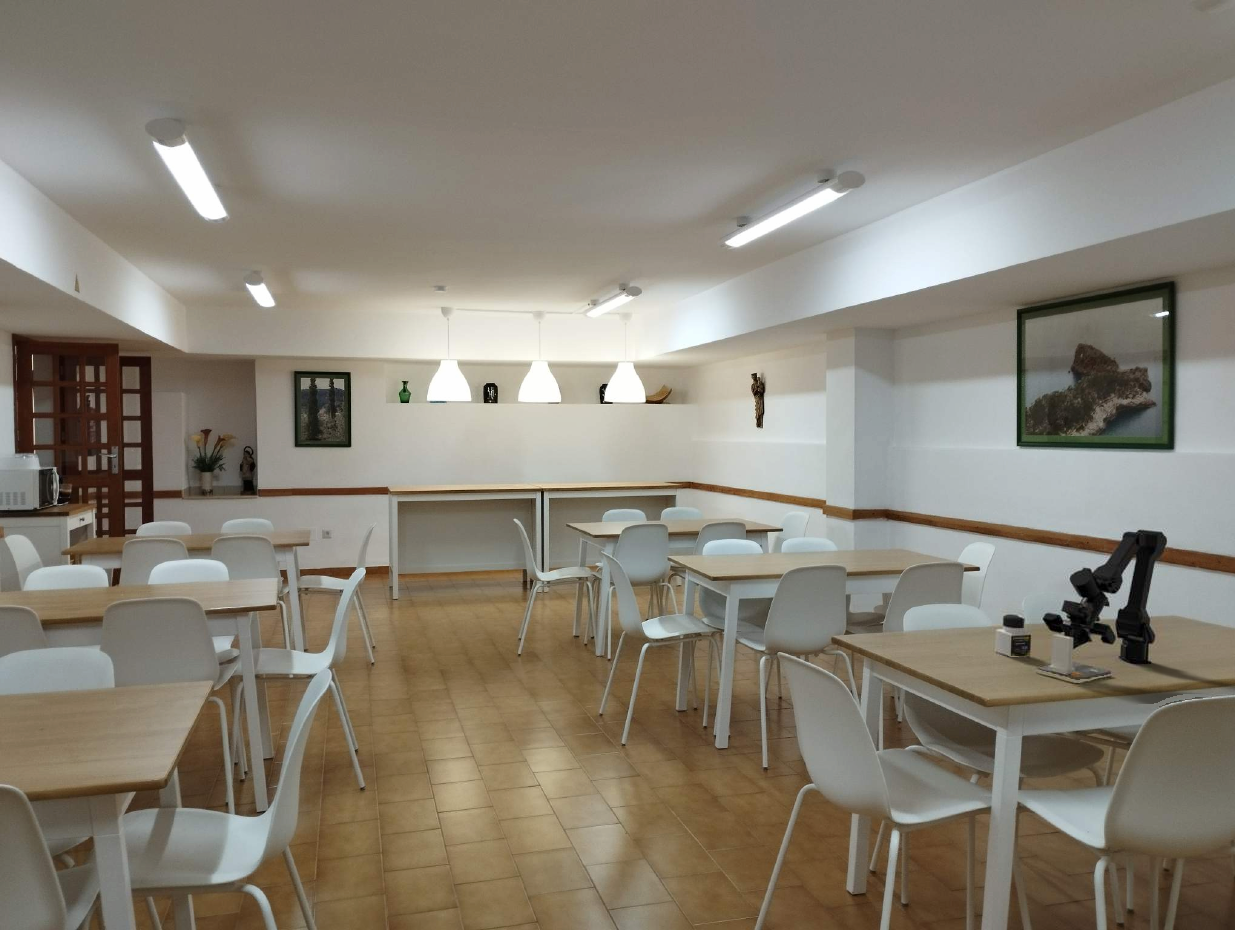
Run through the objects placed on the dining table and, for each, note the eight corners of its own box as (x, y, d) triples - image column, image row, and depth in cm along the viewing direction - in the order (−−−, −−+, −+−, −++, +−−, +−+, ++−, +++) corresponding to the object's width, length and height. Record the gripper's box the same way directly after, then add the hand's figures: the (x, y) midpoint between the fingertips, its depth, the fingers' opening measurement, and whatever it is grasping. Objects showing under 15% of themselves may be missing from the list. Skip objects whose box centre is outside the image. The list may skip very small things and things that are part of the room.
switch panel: (1069, 665, 259) (1070, 658, 259) (1110, 676, 249) (1111, 668, 249) (1036, 673, 251) (1036, 665, 250) (1077, 684, 240) (1077, 675, 240)
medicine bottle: (1010, 658, 267) (1012, 618, 266) (994, 652, 273) (996, 613, 273) (1030, 657, 268) (1032, 617, 268) (1014, 651, 275) (1015, 612, 275)
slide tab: (1057, 668, 250) (1058, 633, 249) (1074, 672, 245) (1076, 637, 245) (1048, 670, 248) (1049, 635, 247) (1066, 674, 243) (1067, 639, 243)
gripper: (1047, 584, 257) (1022, 626, 252) (1111, 595, 241) (1086, 640, 236) (1062, 609, 261) (1038, 650, 256) (1126, 621, 245) (1102, 666, 240)
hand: (1065, 651), depth 247 cm, fingers closed, pressing on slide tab
